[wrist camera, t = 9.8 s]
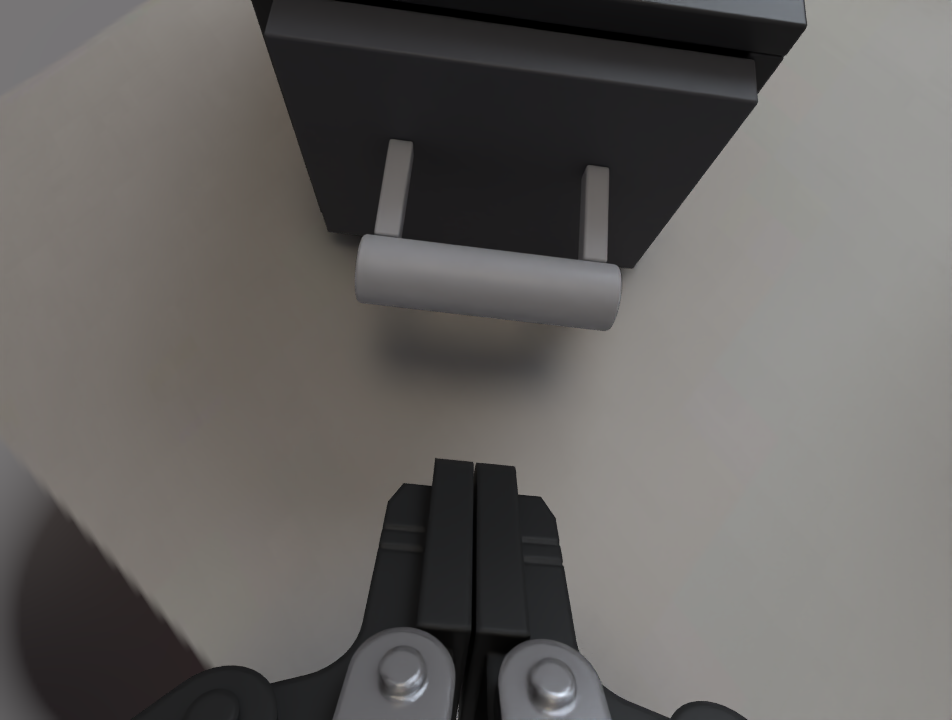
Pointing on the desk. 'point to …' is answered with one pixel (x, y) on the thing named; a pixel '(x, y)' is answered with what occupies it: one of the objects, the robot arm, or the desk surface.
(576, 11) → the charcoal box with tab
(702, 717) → the robot arm
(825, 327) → the desk surface
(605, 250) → the drawer
